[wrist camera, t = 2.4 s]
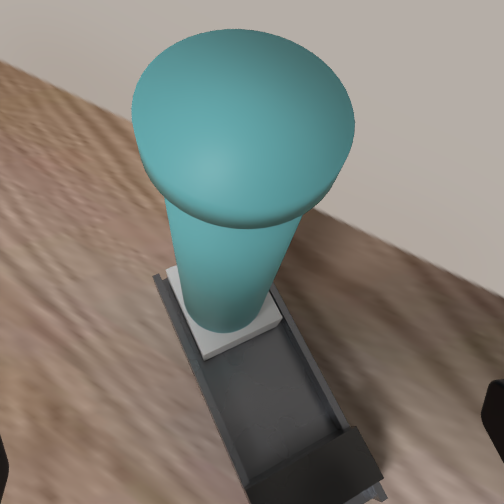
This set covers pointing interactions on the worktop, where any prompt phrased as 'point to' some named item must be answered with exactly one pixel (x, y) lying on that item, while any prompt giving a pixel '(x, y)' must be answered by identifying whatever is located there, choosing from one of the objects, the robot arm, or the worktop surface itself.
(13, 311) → the worktop surface
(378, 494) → the track
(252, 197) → the teal tall cylinder
